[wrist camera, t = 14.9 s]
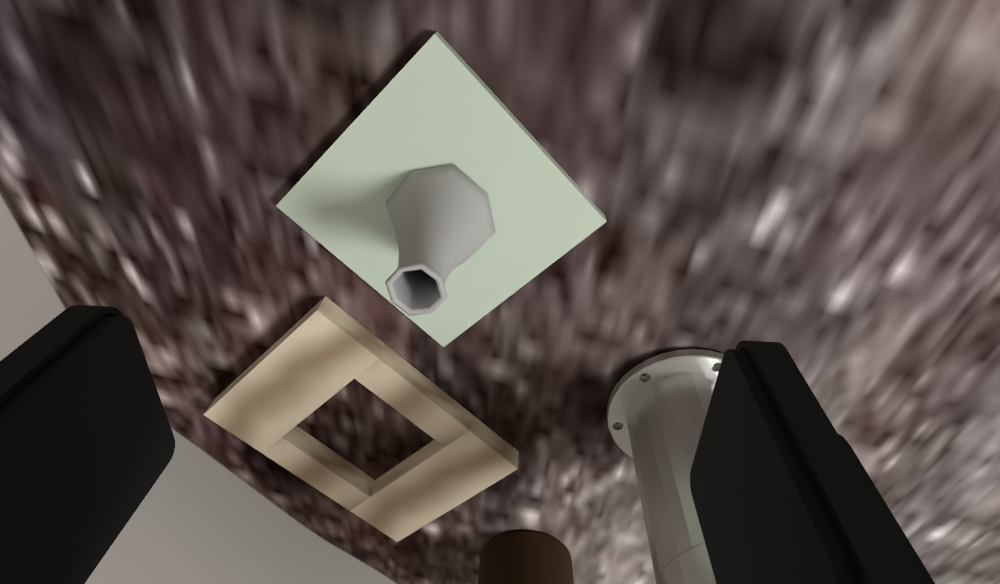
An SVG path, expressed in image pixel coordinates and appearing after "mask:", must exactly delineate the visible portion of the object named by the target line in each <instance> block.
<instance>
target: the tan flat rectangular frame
mask: <svg viewBox="0 0 1000 584" xmlns="http://www.w3.org/2000/svg"><path fill="white" fill-rule="evenodd" d="M353 379H356V380H357V381H358V382H360V383H361V384H362V385H364V386H365V387H366V388H368V389H369V390H370V391H371V392H373V393H374V394H375V395H377V396H378V397H379V398H381V399H382V400H383V401H385V402H386V403H387V404H389V405H390V406H391V407H393V408H394V409H395V410H396V411H398V412H399V413H400V414H402V415H403V416H404V417H406V418H407V419H408V420H410V421H411V422H412V423H414V424H415V425H416V426H417V427H419V428H420V429H421V430H423V431H424V432H425V433H427V434H428V435H429V436H431V437H432V438H433V439H434V440H433V441H431V442H430V443H428V444H427V445H426V446H424V447H423V448H421V449H420V450H418V451H417V452H415V453H414V454H412V455H411V456H410V457H408V458H407V459H405V460H404V461H402V462H401V463H399V464H398V465H396V466H395V467H394V468H392V469H391V470H389V471H388V472H386V473H385V474H383V475H382V476H380V477H379V478H378V479H376V480H374V479H373V478H372V477H370V476H369V475H367V474H366V473H364V472H363V471H361V470H360V469H359V468H357V467H356V466H354V465H353V464H351V463H350V462H348V461H347V460H346V459H344V458H343V457H341V456H340V455H338V454H337V453H335V452H334V451H333V450H331V449H330V448H328V447H327V446H325V445H324V444H323V443H321V442H320V441H318V440H317V439H315V438H314V437H312V436H311V435H310V434H308V433H307V432H305V431H304V430H302V429H301V428H299V427H298V426H297V425H298V424H299V423H300V422H301V421H302V420H304V419H305V418H306V417H307V416H309V415H310V414H311V413H312V412H314V411H315V410H316V409H317V408H319V407H320V406H321V405H322V404H323V403H325V402H326V401H327V400H328V399H330V398H331V397H332V396H333V395H335V394H336V393H337V392H338V391H339V390H341V389H342V388H343V387H344V386H346V385H347V384H348V383H349V382H351V381H352V380H353ZM204 415H205V416H206V417H208V418H209V419H211V420H212V421H214V422H215V423H217V424H218V425H220V426H221V427H223V428H224V429H226V430H227V431H229V432H230V433H232V434H233V435H235V436H236V437H238V438H240V439H241V440H243V441H244V442H246V443H247V444H249V445H250V446H252V447H253V448H255V449H256V450H258V451H259V452H261V453H262V454H264V455H265V456H267V457H268V458H270V459H272V460H273V461H275V462H276V463H278V464H279V465H281V466H282V467H284V468H285V469H287V470H288V471H290V472H291V473H293V474H294V475H296V476H297V477H299V478H300V479H302V480H303V481H305V482H307V483H308V484H310V485H311V486H313V487H314V488H316V489H317V490H319V491H320V492H322V493H323V494H325V495H326V496H328V497H329V498H331V499H332V500H334V501H335V502H337V503H338V504H340V505H342V506H343V507H345V508H346V509H348V510H349V511H351V512H352V513H354V514H355V515H357V516H358V517H360V518H361V519H363V520H364V521H366V522H367V523H369V524H370V525H372V526H373V527H375V528H377V529H378V530H380V531H381V532H383V533H384V534H386V535H387V536H389V537H390V538H392V539H393V540H395V541H396V542H398V541H400V540H402V539H403V538H405V537H407V536H408V535H410V534H412V533H413V532H415V531H417V530H418V529H420V528H421V527H423V526H425V525H426V524H428V523H430V522H431V521H433V520H435V519H436V518H438V517H440V516H441V515H443V514H445V513H446V512H448V511H449V510H451V509H453V508H454V507H456V506H458V505H459V504H461V503H463V502H464V501H466V500H468V499H469V498H471V497H473V496H474V495H476V494H477V493H479V492H481V491H482V490H484V489H486V488H487V487H489V486H491V485H492V484H494V483H496V482H497V481H499V480H500V479H502V478H504V477H505V476H507V475H509V474H510V473H512V472H514V471H515V470H517V469H518V451H517V450H516V449H515V448H513V447H512V446H511V445H510V444H508V443H507V442H506V441H505V440H503V439H502V438H501V437H500V436H498V435H497V434H496V433H495V432H494V431H492V430H491V429H490V428H489V427H487V426H486V425H485V424H484V423H482V422H481V421H480V420H479V419H477V418H476V417H475V416H474V415H472V414H471V413H470V412H469V411H467V410H466V409H465V408H464V407H463V406H461V405H460V404H459V403H458V402H456V401H455V400H454V399H453V398H451V397H450V396H449V395H448V394H446V393H445V392H444V391H443V390H441V389H440V388H439V387H438V386H436V385H435V384H434V383H433V382H431V381H430V380H429V379H428V378H427V377H425V376H424V375H423V374H422V373H420V372H419V371H418V370H417V369H415V368H414V367H413V366H412V365H410V364H409V363H408V362H407V361H405V360H404V359H403V358H402V357H400V356H399V355H398V354H397V353H396V352H394V351H393V350H392V349H391V348H389V347H388V346H387V345H386V344H384V343H383V342H382V341H381V340H379V339H378V338H377V337H376V336H374V335H373V334H372V333H371V332H369V331H368V330H367V329H366V328H365V327H363V326H362V325H361V324H360V323H358V322H357V321H356V320H355V319H353V318H352V317H351V316H350V315H348V314H347V313H346V312H345V311H343V310H342V309H341V308H340V307H338V306H337V305H336V304H335V303H334V302H332V301H331V300H330V299H329V298H327V297H326V296H325V297H324V298H323V299H322V300H321V301H320V302H319V303H317V304H316V305H315V306H314V307H313V308H312V309H311V310H310V311H309V312H308V313H307V314H306V315H304V316H303V317H302V318H301V319H300V320H299V321H298V322H297V323H296V324H295V325H294V326H293V327H292V328H290V329H289V330H288V331H287V332H286V333H285V334H284V335H283V336H282V337H281V338H280V339H279V340H278V341H276V342H275V343H274V344H273V345H272V346H271V347H270V348H269V349H268V350H267V351H266V352H265V353H264V354H262V355H261V356H260V357H259V358H258V359H257V360H256V361H255V362H254V363H253V364H252V365H251V366H249V367H248V368H247V369H246V370H245V371H244V372H243V373H242V374H241V375H240V376H239V377H238V378H237V379H235V380H234V381H233V382H232V383H231V384H230V385H229V386H228V387H227V388H226V389H225V390H224V391H223V392H221V393H220V394H219V395H218V396H217V397H216V398H215V399H214V400H213V402H212V403H211V405H210V406H209V408H208V409H207V410H206V412H205V413H204Z"/></svg>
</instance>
